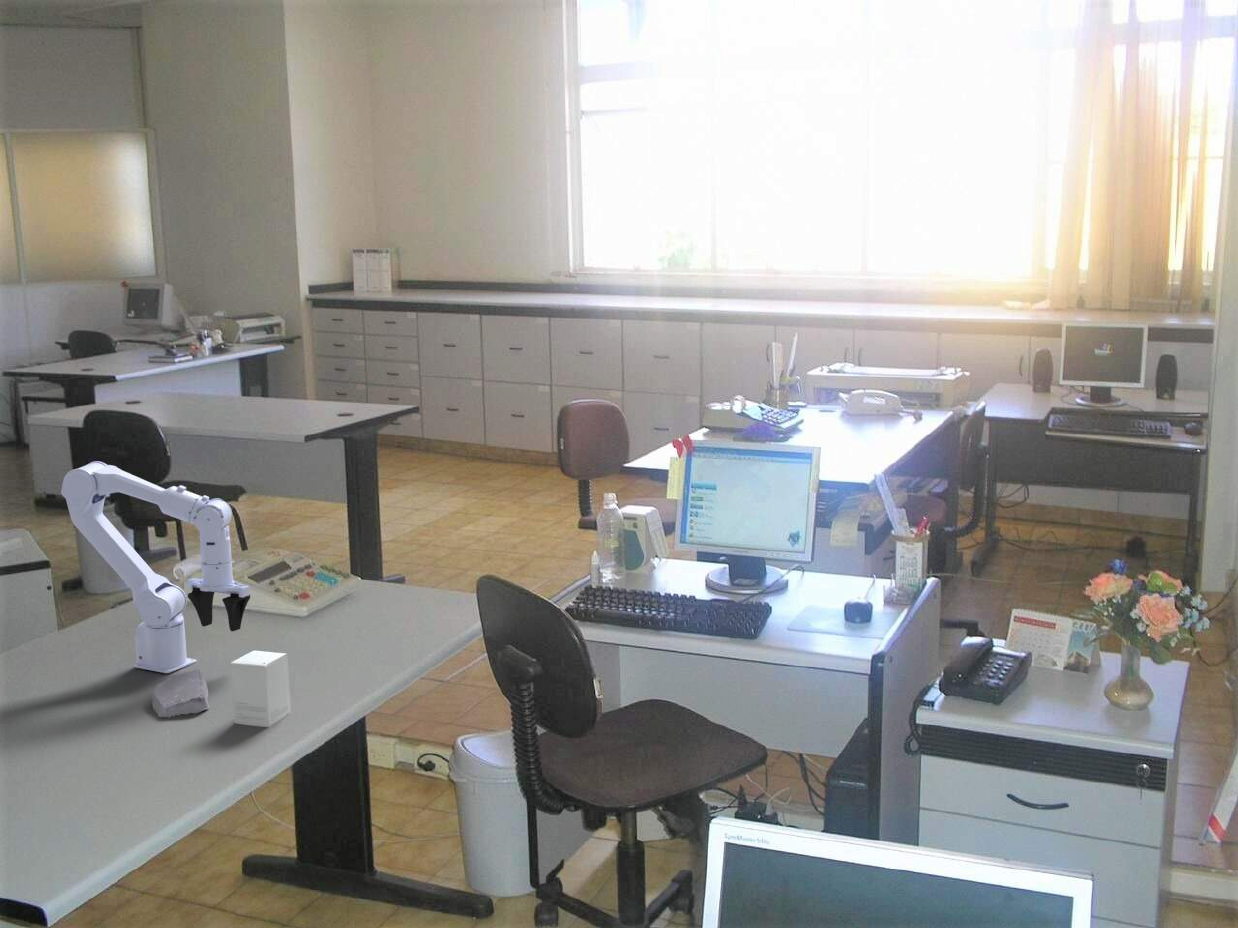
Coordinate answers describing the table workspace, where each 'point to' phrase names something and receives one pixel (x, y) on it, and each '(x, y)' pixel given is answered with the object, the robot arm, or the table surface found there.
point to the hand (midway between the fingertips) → (221, 627)
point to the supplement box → (260, 688)
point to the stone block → (181, 695)
